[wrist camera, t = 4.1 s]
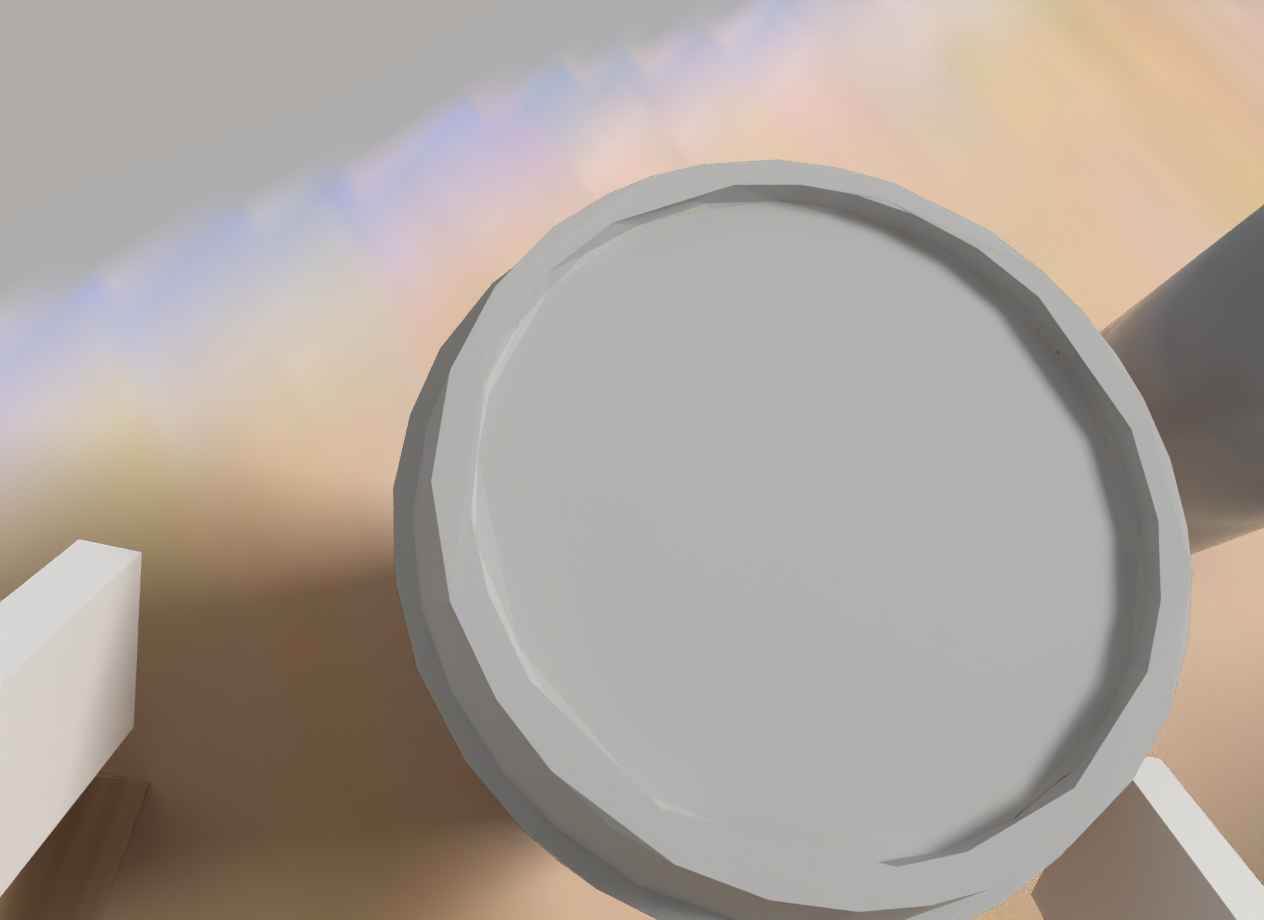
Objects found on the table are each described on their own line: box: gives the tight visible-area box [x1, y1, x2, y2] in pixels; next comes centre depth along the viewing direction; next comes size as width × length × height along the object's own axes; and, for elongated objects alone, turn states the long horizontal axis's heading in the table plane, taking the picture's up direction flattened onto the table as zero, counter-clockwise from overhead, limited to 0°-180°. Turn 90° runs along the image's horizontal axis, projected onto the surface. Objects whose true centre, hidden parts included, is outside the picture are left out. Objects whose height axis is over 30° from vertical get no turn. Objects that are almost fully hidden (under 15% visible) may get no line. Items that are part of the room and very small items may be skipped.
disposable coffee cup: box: [393, 160, 1192, 920], centre depth 15 cm, size 10×10×12 cm
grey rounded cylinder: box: [1100, 205, 1264, 555], centre depth 21 cm, size 6×6×9 cm
